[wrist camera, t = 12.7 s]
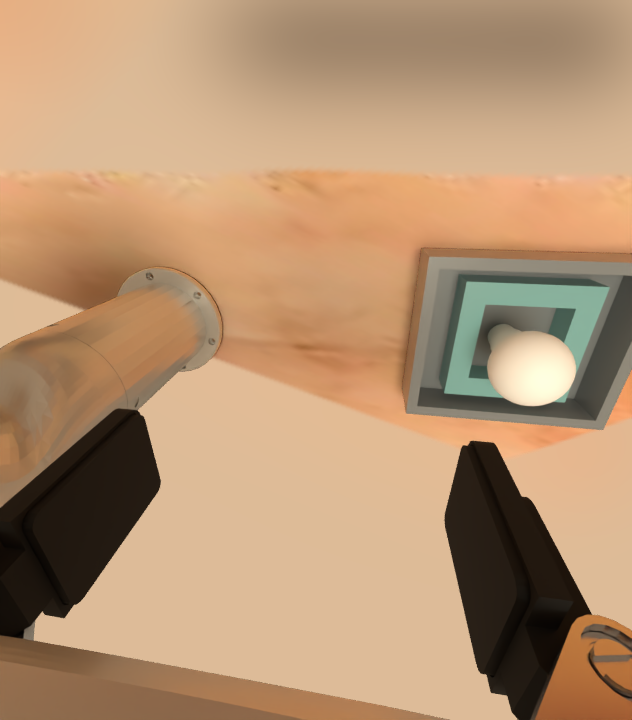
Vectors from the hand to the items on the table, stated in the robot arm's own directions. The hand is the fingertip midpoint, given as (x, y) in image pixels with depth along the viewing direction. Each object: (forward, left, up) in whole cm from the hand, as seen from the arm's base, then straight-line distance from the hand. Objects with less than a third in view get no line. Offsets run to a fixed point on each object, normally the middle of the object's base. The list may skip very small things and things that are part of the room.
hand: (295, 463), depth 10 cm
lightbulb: (+8, -14, -28) cm, 32 cm away
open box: (+9, -15, -28) cm, 33 cm away
